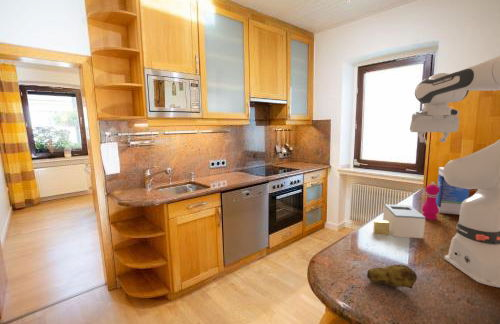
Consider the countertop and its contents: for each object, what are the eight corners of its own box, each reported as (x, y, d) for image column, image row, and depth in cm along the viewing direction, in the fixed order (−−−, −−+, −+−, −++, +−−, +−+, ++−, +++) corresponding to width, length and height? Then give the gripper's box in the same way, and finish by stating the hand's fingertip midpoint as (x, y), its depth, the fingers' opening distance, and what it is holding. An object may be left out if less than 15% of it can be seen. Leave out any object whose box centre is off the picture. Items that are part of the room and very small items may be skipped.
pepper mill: (432, 215, 138) (436, 180, 135) (440, 220, 131) (445, 183, 128) (418, 215, 139) (422, 180, 136) (426, 220, 132) (430, 183, 129)
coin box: (423, 238, 111) (425, 217, 109) (393, 236, 113) (395, 215, 112) (408, 224, 126) (410, 205, 125) (382, 222, 129) (384, 204, 127)
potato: (375, 272, 86) (376, 250, 85) (418, 291, 76) (420, 267, 75) (364, 282, 81) (365, 259, 79) (408, 303, 71) (411, 278, 70)
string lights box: (461, 211, 145) (467, 168, 141) (467, 215, 138) (473, 170, 134) (434, 208, 149) (438, 166, 146) (438, 212, 142) (443, 168, 139)
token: (388, 234, 115) (389, 222, 114) (374, 233, 116) (375, 221, 115) (387, 233, 117) (387, 221, 116) (373, 232, 118) (374, 220, 117)
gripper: (417, 111, 109) (414, 142, 111) (463, 111, 109) (459, 142, 111) (408, 112, 115) (405, 141, 117) (451, 112, 115) (448, 141, 117)
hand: (432, 142), depth 114 cm, fingers open, 8 cm apart
